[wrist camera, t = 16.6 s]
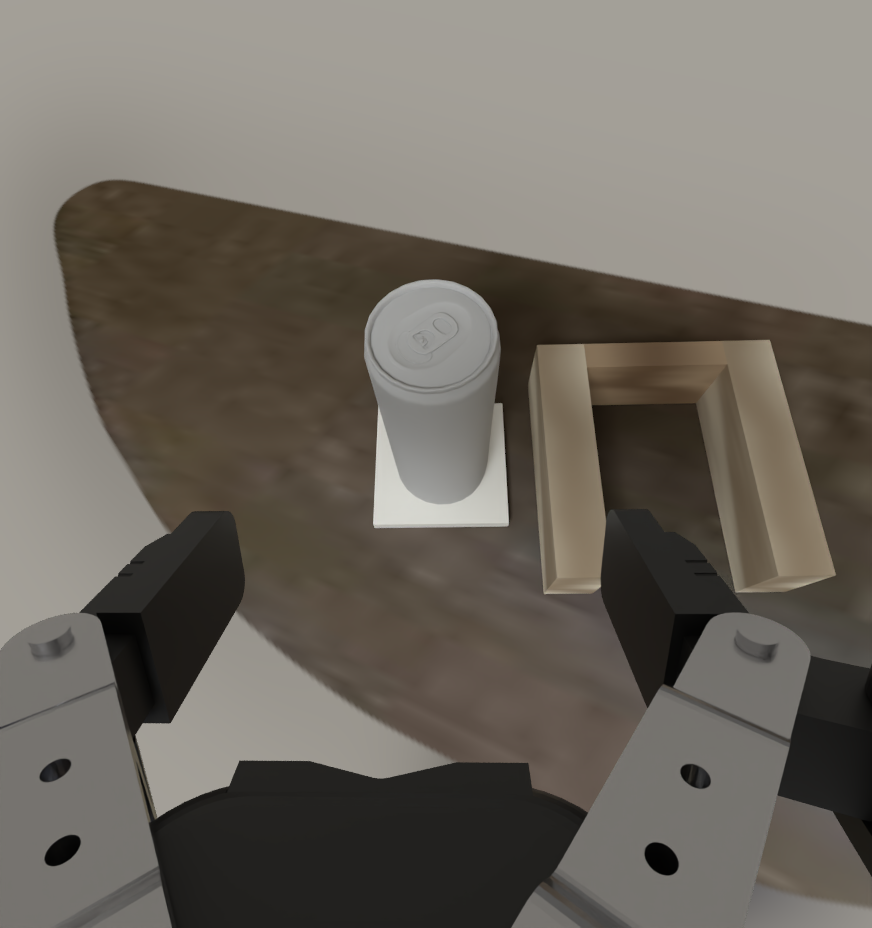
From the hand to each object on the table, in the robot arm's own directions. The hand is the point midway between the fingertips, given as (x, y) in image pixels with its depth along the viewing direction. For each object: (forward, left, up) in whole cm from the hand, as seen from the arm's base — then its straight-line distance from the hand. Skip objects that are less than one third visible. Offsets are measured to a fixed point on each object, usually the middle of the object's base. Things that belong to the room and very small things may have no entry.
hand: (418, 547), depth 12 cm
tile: (0, -9, -16) cm, 19 cm away
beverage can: (0, -9, -16) cm, 18 cm away
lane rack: (-11, -8, -16) cm, 21 cm away
